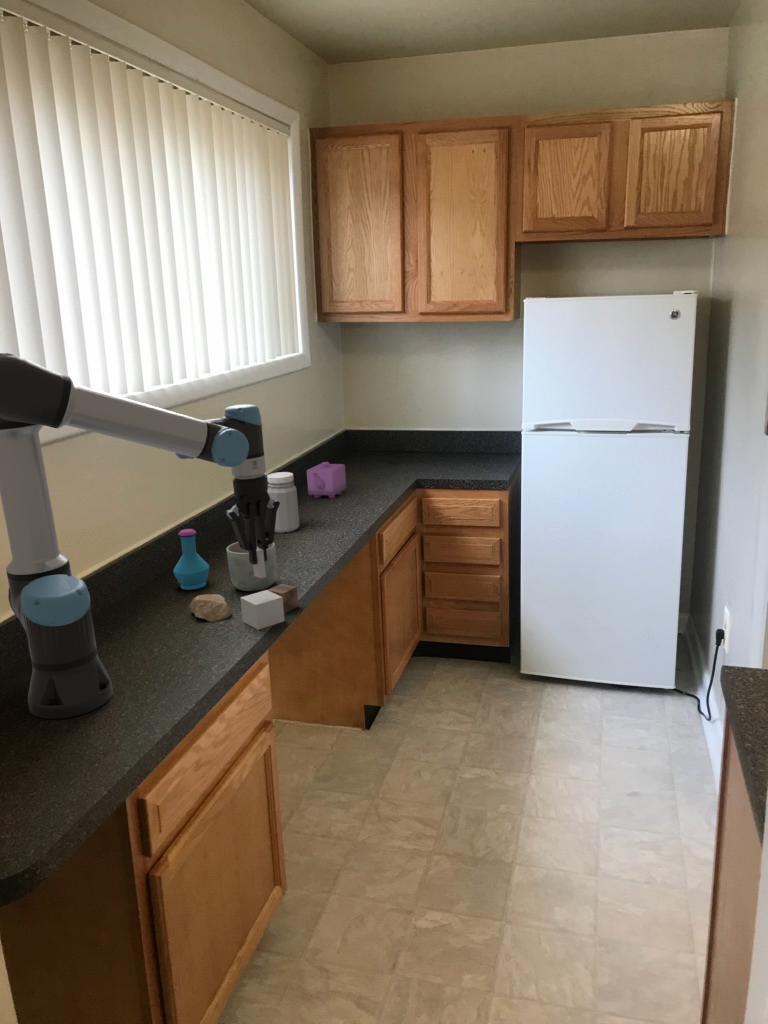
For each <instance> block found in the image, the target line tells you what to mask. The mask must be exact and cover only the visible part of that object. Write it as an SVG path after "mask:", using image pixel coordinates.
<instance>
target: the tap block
mask: <svg viewBox="0 0 768 1024" xmlns="http://www.w3.org/2000/svg"><path fill="white" fill-rule="evenodd" d="M239 600H240V607H241V616H242V617H241V618H242V622H243V623H245V624H246V625H249V626H250V627H252V628H254V629H256V630H262V629H264V628H268V627H271V626H274V625H277V624H280V623H284V622H285V613H284V610H283V599H282V597H281V596H279V595H277V594H274V593H272V592H270V591H268V589H264V590H260V591H257V592H255V593H251V594H249V595H244V596H241V597H240V599H239Z"/></svg>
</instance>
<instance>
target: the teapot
mask: <svg viewBox="0 0 768 1024" xmlns="http://www.w3.org/2000/svg"><path fill="white" fill-rule="evenodd" d="M306 479H307V482H306V483H307V491H308V494H307V495H309V496H313V498H314V499H317V498H318V499H319V498H321V497H322V496H328V499H336V495H337V496H338V495H339V496H340V495H342V494H343V493H342V492H343V491H345V489H347V480H346V479H347V477H346V465H345V463H344V464H342V463H330V462H328V461H324V462H321V463H318V464H317V465H315V466H313V467H311V468H309V469H306Z"/></svg>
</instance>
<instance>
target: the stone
mask: <svg viewBox="0 0 768 1024" xmlns="http://www.w3.org/2000/svg"><path fill="white" fill-rule="evenodd" d="M188 607H189V610H190V611H191V612H192V614H193V615H194V617H195V618H199V619H202V620H205V621H207V622H210V623H213V622H219V621H222V620H225V619H228V618H230V616H231V615H233V614H232V611H231V610H230V608H229V607H228V605H227V600H226V599H225V598H224V596H222V595H221V594H216V593H215V594H214V593H213V594H209V593H207V594H200V595H197V596H196V597H194V598H193V599H192V601H191V602H190V603H189V606H188Z"/></svg>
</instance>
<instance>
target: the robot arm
mask: <svg viewBox="0 0 768 1024" xmlns="http://www.w3.org/2000/svg"><path fill="white" fill-rule="evenodd" d="M44 426H45V427H49V428H52V429H53V428H54V429H60V428H63V427H64V426H68V427H72V428H76V429H81V430H85V431H88V432H93V433H95V434H96V433H97V434H100V435H105V436H108V437H112V438H115V439H120V440H124V441H127V442H132V443H136V444H140V445H144V446H148V447H151V448H155V449H159V450H164V451H167V452H171V453H174V454H175V455H176V456H177V458H178V459H181V460H188V459H190V460H193V459H198V460H202V461H207V462H209V463H213V464H217V465H218V466H221V467H225V468H228V467H229V468H231V475H232V476H233V477H232V478H233V479H232V486H233V493H234V502H233V506H232V507H231V508H230V509H226V510H225V514H224V515H226V517H227V518H228V519H229V521H230V523H231V526H232V528H233V529H232V530H233V531H234V534H235V538H236V540H237V542H238V543H239V546H240V548H242V549H244V550H248V552H249V560H250V563H251V564H253V568H254V576H256V577H258V578H264V577H266V572H265V561H267V552H266V549H268V547H269V546H268V545H269V544H272V543H273V542H274V540H275V539H274V537H275V533H276V532H275V522H276V513H277V510H278V507H279V505H280V502H279V501H275V500H272V499H270V496H269V494H268V492H267V490H268V487H269V486H268V484H269V483H268V480H267V475H266V474H265V473H266V472H267V466H266V460H265V459H266V457H265V450H264V438H263V437H264V436H263V422H262V417H261V411H260V409H259V407H258V406H257V405H255V404H248V403H247V404H235V405H230V406H227V407H226V408H225V409H224V416H221V417H218V418H211V419H204V420H203V419H199V418H196V417H192V416H189V415H187V414H182V413H179V412H175V411H172V410H169V409H164V408H161V407H158V406H154V405H150V404H148V403H143V402H140V401H136V400H133V399H129V398H126V397H122V396H119V395H115V394H112V393H108V392H106V391H105V392H104V391H101V390H99V389H94V388H91V387H87V386H85V385H84V386H83V385H79V384H77V383H76V382H75V381H74V379H73V378H72V376H69V375H66V374H62V373H59V372H56V371H53V370H51V369H49V368H46V367H44V366H42V365H40V364H37V363H35V362H34V361H31V360H29V359H28V358H25V357H21V356H18V355H15V354H12V353H9V352H5V353H3V352H1V353H0V500H1V504H2V510H3V515H4V521H5V526H6V530H7V537H8V541H9V546H10V547H9V548H10V551H11V558H12V559H11V560H10V562H9V563H8V565H7V566H6V567H5V571H6V576H7V577H6V578H7V583H8V596H7V597H8V598H7V599H8V603H9V607H10V609H11V611H12V612H13V614H15V616H16V617H17V619H18V620H19V622H20V623H21V625H22V627H23V629H24V630H25V634H26V637H27V638H26V639H27V645H28V651H29V655H30V661H31V666H32V668H31V669H32V671H31V672H32V673H31V678H30V683H29V687H28V688H29V689H28V695H27V704H28V709H29V712H30V714H31V715H33V716H35V717H37V718H41V719H46V720H47V719H48V720H50V719H51V720H52V719H53V720H58V719H67V718H72V717H77V716H80V715H85V714H87V713H90V712H93V711H94V710H96V709H98V708H100V707H102V706H104V705H105V704H106V703H108V701H110V700H111V698H112V697H113V695H114V689H113V683H112V678H111V677H110V675H109V674H108V672H107V670H106V668H105V666H104V664H103V662H102V661H101V659H100V657H99V655H98V647H97V641H96V634H95V627H94V622H93V621H94V620H93V614H92V608H91V607H92V606H91V596H90V595H91V594H90V593H89V591H88V587H87V584H86V582H85V581H84V580H82V579H81V578H79V577H78V576H75V575H72V570H71V563H70V559H69V556H68V555H66V554H64V553H63V552H61V551H60V548H59V542H58V537H57V532H56V531H57V530H56V523H55V519H54V513H53V508H52V502H51V498H50V497H51V496H50V492H49V484H48V479H47V474H46V467H45V463H44V462H45V461H44V457H43V452H42V451H43V450H42V445H41V439H40V434H39V433H40V431H41V429H42V428H43V427H44ZM265 512H266V513H265ZM240 514H241V515H242V520H243V522H244V524H242V521H241V518H240V517H239V516H240ZM243 525H244V527H243ZM256 540H257V543H256ZM257 546H258V547H257Z"/></svg>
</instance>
